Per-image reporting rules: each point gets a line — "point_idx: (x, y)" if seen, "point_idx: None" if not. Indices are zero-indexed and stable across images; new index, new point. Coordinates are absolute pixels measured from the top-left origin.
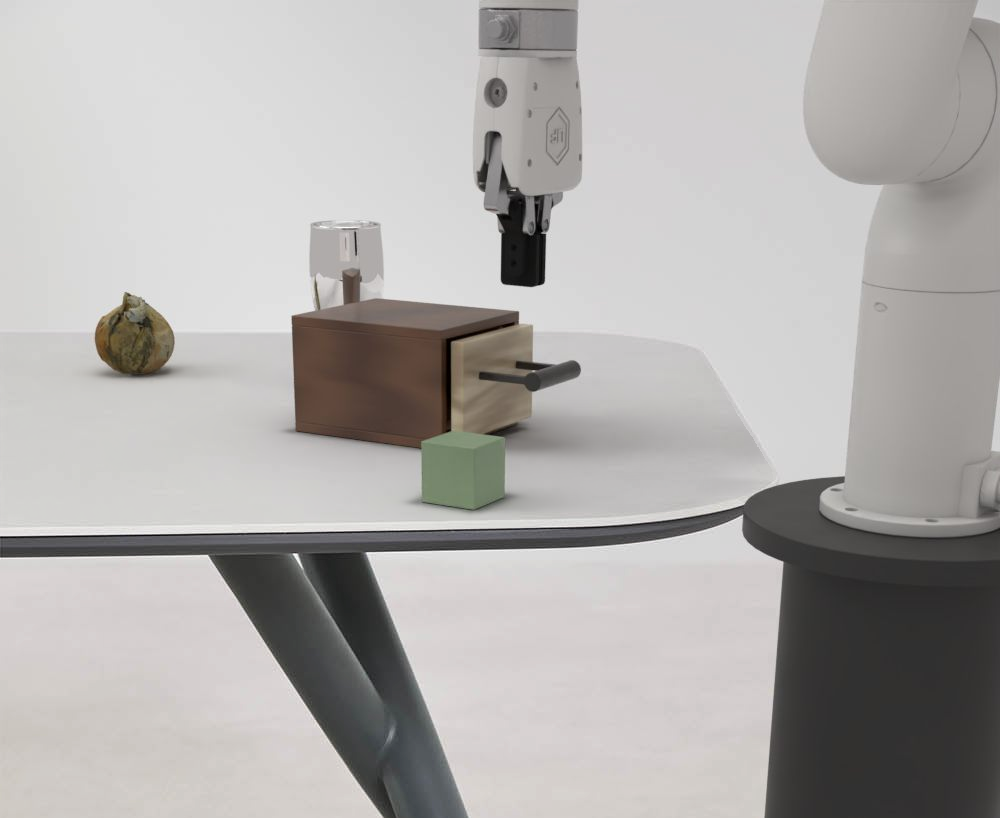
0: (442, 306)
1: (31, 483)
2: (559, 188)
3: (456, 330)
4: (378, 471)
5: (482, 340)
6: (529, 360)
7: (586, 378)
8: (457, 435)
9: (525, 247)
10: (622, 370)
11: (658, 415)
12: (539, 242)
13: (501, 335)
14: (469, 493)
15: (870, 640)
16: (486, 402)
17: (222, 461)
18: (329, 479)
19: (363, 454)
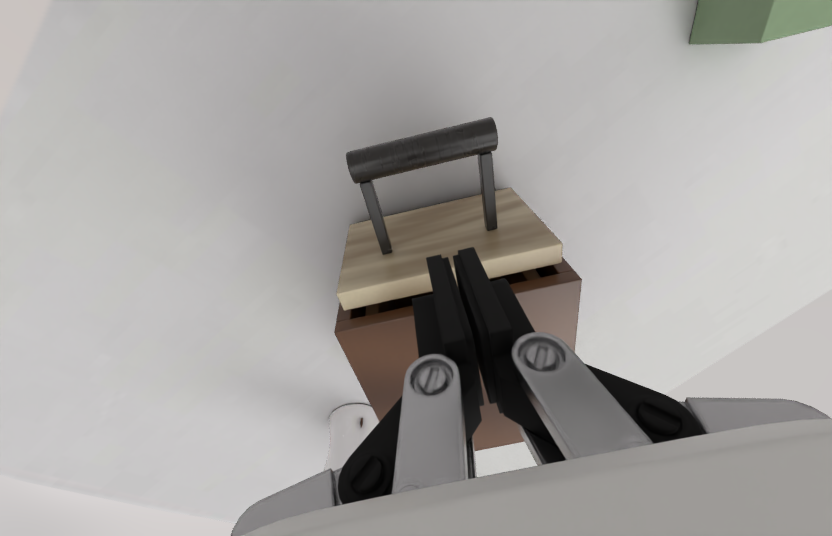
0: (391, 405)
1: (763, 324)
2: (491, 493)
3: (532, 285)
4: (630, 182)
5: (501, 254)
6: (352, 260)
7: (115, 349)
8: (800, 5)
9: (513, 322)
10: (42, 355)
11: (145, 158)
12: (484, 315)
13: None
14: None
15: None
16: (465, 214)
17: (648, 297)
18: (682, 190)
19: (568, 244)
